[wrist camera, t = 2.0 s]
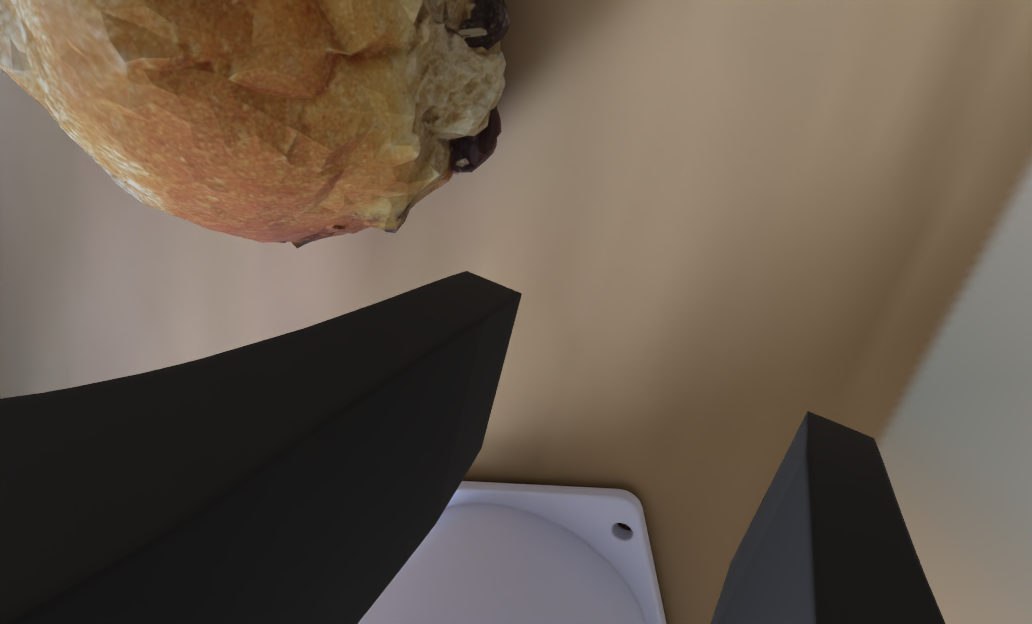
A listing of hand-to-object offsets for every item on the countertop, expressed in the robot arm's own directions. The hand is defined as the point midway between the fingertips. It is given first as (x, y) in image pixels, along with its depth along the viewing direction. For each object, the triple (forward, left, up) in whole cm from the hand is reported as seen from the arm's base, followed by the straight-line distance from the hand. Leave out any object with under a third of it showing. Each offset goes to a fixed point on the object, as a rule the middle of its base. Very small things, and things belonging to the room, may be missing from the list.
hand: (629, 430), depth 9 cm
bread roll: (+5, +9, -10) cm, 14 cm away
